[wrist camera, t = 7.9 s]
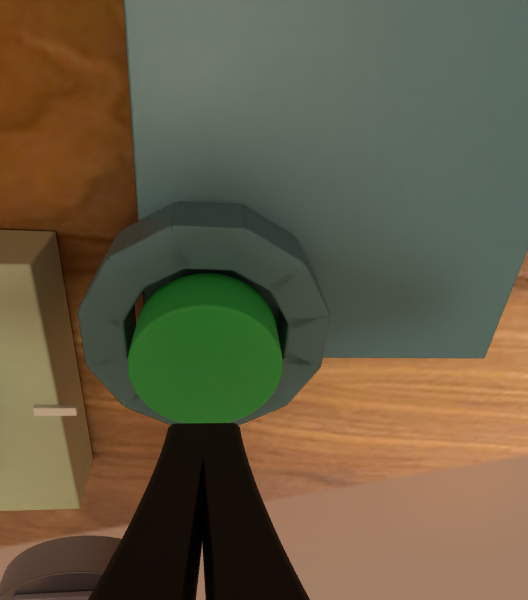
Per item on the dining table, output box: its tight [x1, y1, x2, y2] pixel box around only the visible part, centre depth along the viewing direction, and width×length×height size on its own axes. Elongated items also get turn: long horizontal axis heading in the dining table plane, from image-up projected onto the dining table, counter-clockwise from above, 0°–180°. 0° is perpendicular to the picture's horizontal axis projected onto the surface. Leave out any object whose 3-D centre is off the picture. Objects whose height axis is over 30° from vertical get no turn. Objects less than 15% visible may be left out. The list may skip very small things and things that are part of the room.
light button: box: [127, 273, 283, 423], centre depth 13 cm, size 4×4×2 cm
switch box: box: [78, 0, 528, 425], centre depth 13 cm, size 17×13×4 cm
